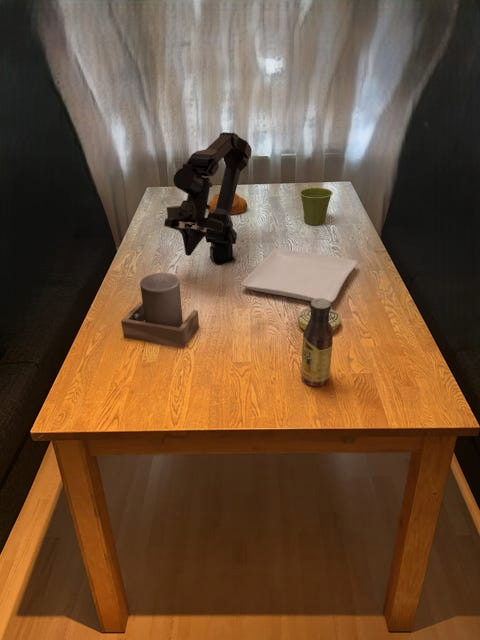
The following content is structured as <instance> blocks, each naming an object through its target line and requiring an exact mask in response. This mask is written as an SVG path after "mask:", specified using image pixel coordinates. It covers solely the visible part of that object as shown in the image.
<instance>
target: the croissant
mask: <svg viewBox="0 0 480 640" xmlns="http://www.w3.org/2000/svg"><path fill="white" fill-rule="evenodd" d="M218 197H219V193H217V194H215V195H214V196H213V197H212V198H211V200H210V201H208V202H207V205H210V209H207V210H208V211H209V213H213V212H214V211H215V209H216V205H217V201H218ZM247 208H248V203H247V200H246V199H244V198H243V197H241V196H240V195H238V194H237V193H236V192H235V196H234V201H233V205H232V209H231V213H230V215H237V214H241V213H244V212H246V210H247Z"/></svg>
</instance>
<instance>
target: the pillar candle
mask: <svg viewBox="0 0 480 640" xmlns="http://www.w3.org/2000/svg"><path fill="white" fill-rule="evenodd" d="M139 286H140V287H139V288H140V293H141V294H140V295H141V302H142V303H143V309H144V317H145V321H144V322H147V323H153V324H159V325H166V326H172V327H178V328H180V327H181V325H182V324H183V322H184V320H183V319H184V318H183V307H182V297H181V296H182V295H181V286H180V279H179V276H177V275H175V274H174V273H168V272H157V273H151V274H148V275H146V276H145V277H143V278H142V279H141V280H140V283H139Z"/></svg>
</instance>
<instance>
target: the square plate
mask: <svg viewBox="0 0 480 640" xmlns="http://www.w3.org/2000/svg"><path fill="white" fill-rule="evenodd" d="M358 263H359V261H358V260H356V259H352V258H347V257H346V258H345V257H339V256H334V255H329V254H322V253H313V252H307V251H303V250H300V251H299V250H295V249H294V250H293V249H287V248H286V249H285V248H274V249H273V250H272V251H271V252H270V253H268V255H267V256H266V257H265V258H264V259H263V260H262V261H261V262H260V264H258V265H257V266H256V268H254V269H253V270H252V271H251V272H250V274H249V275H248V276H246V278H245V279H243V280H242V282H241V286H243V287H244V288H246V289H248V290H251V291H255V292H260V293H263V294H264V293H265V294H270V295H271V294H272V295H278V296H283V297H288V298H293V299H297V300H298V299H299V300H303V301H308V302H312V300H314V299H317V298H323V299H327V300H328V301H330V303H331V304H332V303H333V302H335V301H336V299H337V297H338V295H339V292H340V291H341V289H342V287H343V285H344V283H345V281H346V279H347V278H348V277H349V275H350V274H351V272H352V271H353V270H354V268H355V267H356V266H357V264H358Z"/></svg>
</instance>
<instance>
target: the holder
mask: <svg viewBox="0 0 480 640" xmlns="http://www.w3.org/2000/svg"><path fill="white" fill-rule="evenodd" d="M120 322H121V323H120V324H121V330H122V334H123V338H124V339H128V340H133V341H140V342H143V343H144V342H146V343H151V344H157V345H163V346H168V347H173V348H180V349H185V348H186V346H187V345H188V343H189V342H190V341H191V340H192V338H193V337H194V335H195V334H196V332H197V331H198V330H199V328H200V323H199V322H200V321H199V311H198V310H195V309H193V310H192V311H191V312H190V314H189V315H188V316H187V318H186V319H185V320H183V324H182V325H181V327H180V328H178V327H172V326H166V325H159V324H153V323H147V322H145V317H144V309H143V303H142V301H139V302H138V303H137V304H136V305H134V307H133V308H132V309H131V310H130V311H129V312H128V313H127V314H126V315H125V316H124V318H122V319H121V320H120Z"/></svg>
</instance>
